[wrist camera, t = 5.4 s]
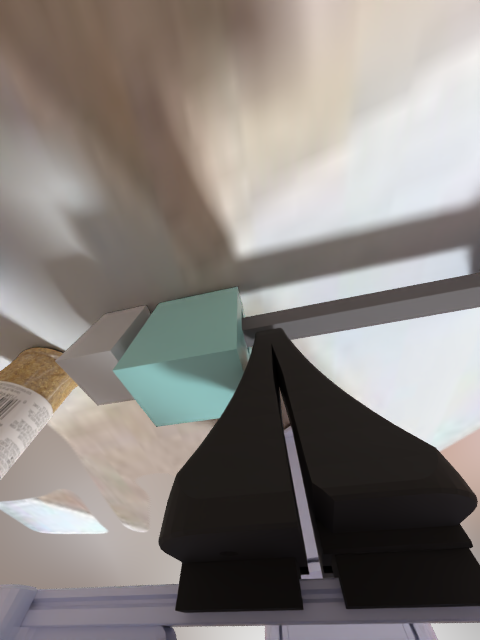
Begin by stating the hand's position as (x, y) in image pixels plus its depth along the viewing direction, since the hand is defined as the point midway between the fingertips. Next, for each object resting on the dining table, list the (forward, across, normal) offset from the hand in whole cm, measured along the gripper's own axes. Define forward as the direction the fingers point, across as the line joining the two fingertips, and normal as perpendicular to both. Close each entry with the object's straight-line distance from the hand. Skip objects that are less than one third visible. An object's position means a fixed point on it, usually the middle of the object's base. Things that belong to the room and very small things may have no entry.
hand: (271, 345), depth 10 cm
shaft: (+2, -2, 0) cm, 3 cm away
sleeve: (+4, +4, 0) cm, 6 cm away
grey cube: (+4, +9, 0) cm, 10 cm away
